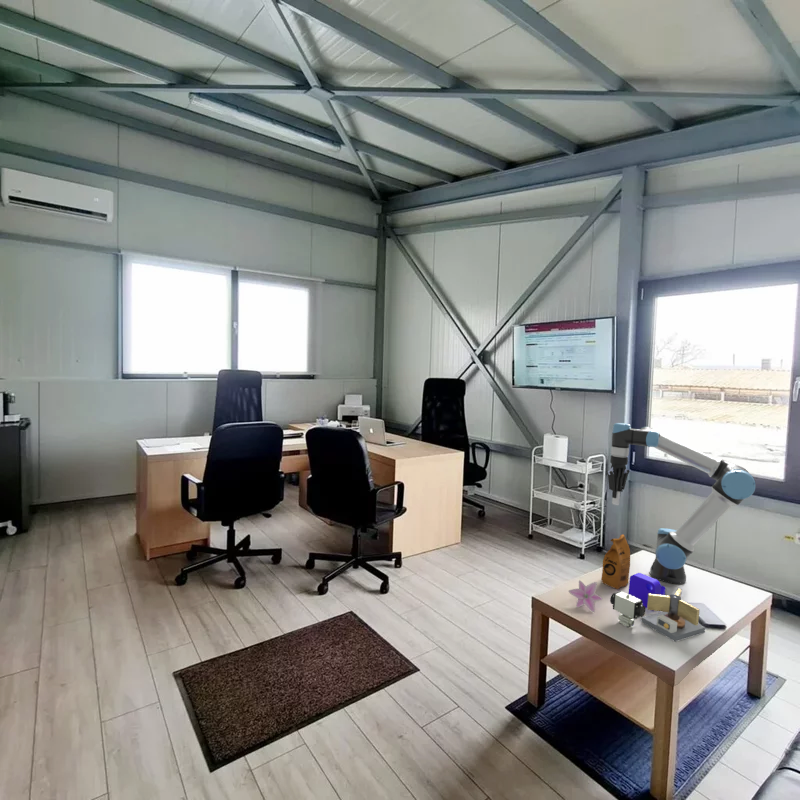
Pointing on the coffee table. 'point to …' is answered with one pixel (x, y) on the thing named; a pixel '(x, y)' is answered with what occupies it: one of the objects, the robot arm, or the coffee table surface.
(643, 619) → the level stand
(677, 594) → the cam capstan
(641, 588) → the bracket
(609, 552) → the coffee package
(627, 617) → the pneumatic valve
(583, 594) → the lily
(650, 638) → the coffee table surface
